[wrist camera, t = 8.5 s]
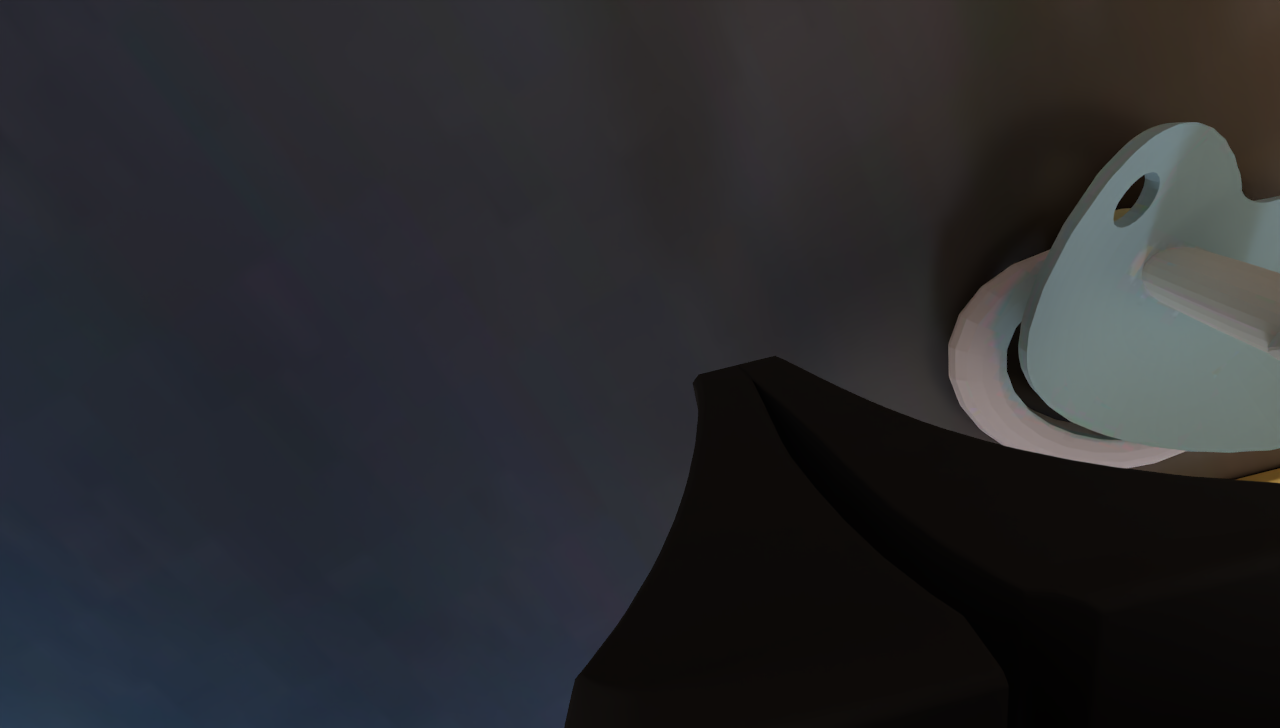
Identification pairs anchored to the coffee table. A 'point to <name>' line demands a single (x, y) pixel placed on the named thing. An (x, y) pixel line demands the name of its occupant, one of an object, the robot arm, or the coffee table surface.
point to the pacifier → (1138, 316)
